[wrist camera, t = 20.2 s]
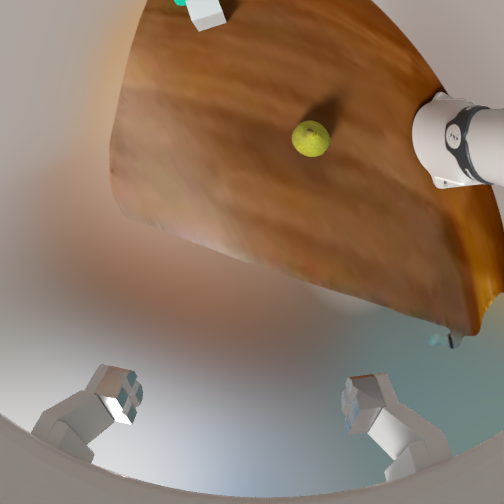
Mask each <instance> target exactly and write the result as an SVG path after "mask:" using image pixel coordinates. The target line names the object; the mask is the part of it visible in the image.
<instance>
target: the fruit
mask: <svg viewBox="0 0 504 504" xmlns="http://www.w3.org/2000/svg"><path fill="white" fill-rule="evenodd" d="M292 142H293V145H294V147H295V148H296V149H297V151H299V152H300V153H301V154H303V155H305V156H309V157H315V156H319V155H322V154H323V153H324V152H325V151H326V150H327V148H328V146H329V144H330V136H329V133H328V132H327V130H326V129H325V128H324V127H323V126H322V125H321V124H320V123H318V122H315V121H311V120H310V121H304V122H302V123H300V124H299V125H298V126H297V127H296V128H295V129H294V131H293V133H292Z"/></svg>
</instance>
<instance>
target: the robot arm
mask: <svg viewBox="0 0 504 504" xmlns="http://www.w3.org/2000/svg"><path fill="white" fill-rule="evenodd" d="M412 139H413V145H414V149H415V152H416V155H417V157H418V159H419V161H420V162H421V164H422V165H423V166H424V167H425V169H426V170H427V171H428V172H429V173H430V175H431V177H432V179H433V182H434V184H435V186H436V187H437V188H441V189H443V188H451V187H460V186H468V185H477V184H489V185H492V184H496V185H498V186H501V187H504V109H490V108H488V107H485V106H479V105H477V106H474V104H473V103H471V102H467V101H466V100H465V99H454V98H452V97H450V96H449V95H447V94H445V93H443V92H438V93H436V95H435V96H434V98H433V100H432V101H431V102H429V103H428V104H426V105H424V106H423V107H422V108H421V109H420V110H419V111H418V113H417V114H416V116H415V119H414V122H413V128H412ZM444 181H445V183H444ZM136 378H137V375H136V373H135V372H134V371H131V370H127V369H122V368H118V367H113V366H109V365H104V364H101V365H100V366H99V367H98V368H97V370H96V372H95V373H94V375H93V377H92V378H91V380H90V382H89V383H88V385H87V387H86V388H85V390H84V391H83V390H81V391H79V392H77V393H76V394H74V395H72V396H70V397H69V398H67V399H65V400H63V401H62V402H60V403H58V404H57V405H55V406H53V407H51V408H49V409H47V410H46V411H44V412H43V413H42V415H41V416H40V418H39V420H38V421H37V423H36V425H35V427H34V428H33V430H32V432H31V433H29V432H28V431H26V430H25V429H23V428H21V427H20V426H18V425H17V424H15V423H14V422H12V421H11V420H9V419H8V418H7V417H5V416H4V415H2V414H1V413H0V504H504V430H503V431H501V432H500V433H498V434H496V435H495V436H493V437H491V438H490V439H488V440H486V441H485V442H483V443H481V444H479V445H477V446H476V447H474V448H472V449H470V450H468V451H466V452H464V453H462V454H460V455H458V456H455V457H452V454H451V451H450V449H449V446H448V443H447V441H446V438H445V436H444V433H443V432H442V431H441V430H439V429H438V428H437V427H435V426H434V425H432V424H431V423H429V422H428V421H426V420H425V419H424V418H422V417H421V416H419V415H418V414H416V413H415V412H414V411H412V410H411V409H410V408H408V407H407V406H405V405H404V404H403V403H402V404H399V402H398V400H397V397H396V395H395V392H394V390H393V387H392V385H391V382H390V380H389V378H388V375H387V374H386V373H379V374H373V375H372V374H370V375H364V376H356V377H349V378H348V379H347V381H346V389H345V390H343V393H342V396H341V408H342V412H343V413H344V414H345V415H346V416H347V417H346V419H345V427H346V432H347V435H353V434H360V433H367V432H368V434H369V435H370V436H371V437H372V438H373V439H374V440H375V441H376V442H377V443H378V444H379V445H380V446H381V447H382V448H383V449H384V450H385V451H386V452H387V453H388V454H389V455H390V456H391V457H392V458H393V459H394V460H395V461H394V462H393V463H392V464H391V465H390V466H389V467H388V468H387V469H386V470H385V471H384V472H385V476H386V481H387V482H383V483H379V484H375V485H371V486H367V487H363V488H357V489H353V490H347V491H341V492H335V493H328V494H319V495H311V496H300V497H273V498H256V497H255V498H254V497H234V496H222V495H212V494H204V493H197V492H191V491H185V490H179V489H174V488H169V487H164V486H160V485H156V484H152V483H148V482H144V481H141V480H137V479H133V478H130V477H127V476H124V475H121V474H118V473H115V472H112V471H109V470H106V469H104V468H101V467H98V466H96V465H94V464H91V462H92V460H93V457H94V453H93V451H92V450H91V449H90V448H89V447H88V446H87V444H88V443H89V442H91V441H92V440H93V439H94V438H96V437H97V436H98V435H99V434H100V433H102V432H103V431H104V430H105V429H107V428H108V427H109V426H110V425H111V424H112V423H114V421H118V422H123V423H127V424H131V425H132V424H133V421H134V419H135V416H136V414H137V411H136V407H137V406H139V405H140V403H141V401H142V397H143V390H142V386H141V384H140V383H139V382H138V381H137V380H136Z"/></svg>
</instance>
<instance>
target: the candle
mask: <svg viewBox="0 0 504 504" xmlns="http://www.w3.org/2000/svg"><path fill="white" fill-rule="evenodd" d="M174 1H175V2H176V4H177V5H182V6H184V5H186V2H185V1H187V0H174Z"/></svg>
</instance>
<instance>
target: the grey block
mask: <svg viewBox="0 0 504 504" xmlns="http://www.w3.org/2000/svg"><path fill="white" fill-rule="evenodd" d="M185 2H186V5H187V8H188V11H189V14H190V17H191V20H192V22H193V24H194V25H195V27H196V28H197V30H198V31H202V30H205V29H208V28H211V27H214V26H218V25H221V24H224V23H227V22H226V20H225V17H224V14H223V11H222V9H221V6H220V4H219V1H218V0H187V1H185Z"/></svg>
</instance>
